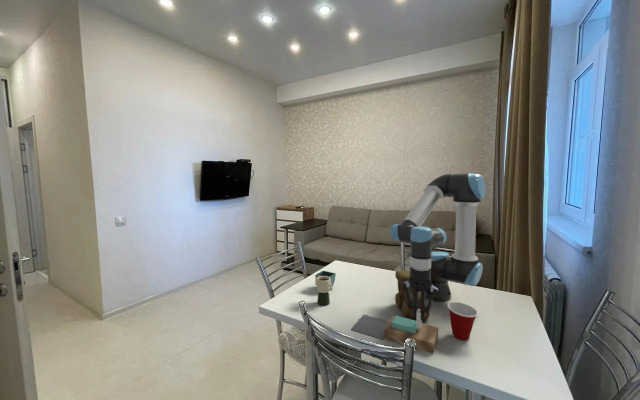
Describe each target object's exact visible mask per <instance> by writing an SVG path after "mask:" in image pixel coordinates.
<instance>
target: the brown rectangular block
mask: <svg viewBox="0 0 640 400" xmlns="http://www.w3.org/2000/svg"><path fill="white" fill-rule="evenodd" d="M395 316H396V315H392V317H391V318H390V320H388V321H389V323H388V324H387V326H386V328H385V329H384V340H387V341H389V342H394V343H396V342H397V344H399V345H403V346H405V345H404V343H405V340H406V339H407V338H412V339H414V340H415V343H416V345H415V348H414V349H416V350H419V351H422V352H426V353H428V354H432V355H434V354H435V349H436V347H437V343H438V339H439V326H434V325H431V324H428V323H423V322H422V326H421V328H420V329H418V328H417V331H416V333H415V334H414V333H411V332H407V331H404V330H400V329H397V328H393V327H392V321H393V320H394V318H395Z"/></svg>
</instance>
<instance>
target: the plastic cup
mask: <svg viewBox="0 0 640 400" xmlns="http://www.w3.org/2000/svg"><path fill="white" fill-rule="evenodd" d="M447 310H448V312H449V318H450V319H449V322H450V326H451V333H452V337H455V338H454V339H457V340H458V341H461V340H463V341H462V342H466V340H467V341H469V339H470V337H471V333H472V329H473V327H474V322H475V319H476V318H477V316H478V315H479V312H478V310H477V309H476V308H474V307H473V306H471V305H470V304H466V303H463V302H457V301H452V302H451V301H450V302H449V303H447Z"/></svg>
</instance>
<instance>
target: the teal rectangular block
mask: <svg viewBox="0 0 640 400" xmlns="http://www.w3.org/2000/svg"><path fill="white" fill-rule="evenodd" d="M394 316H395V318H394V320H393V321H392V327H393V328H397V329H400V330H404V331H407V332H411V333H414V334H415V333H416V331H417V328H416V319H410V318H408V319H407V318H403V316H399V315H394Z"/></svg>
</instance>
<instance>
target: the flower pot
mask: <svg viewBox="0 0 640 400" xmlns="http://www.w3.org/2000/svg"><path fill="white" fill-rule="evenodd" d="M336 275H337V274H336V272H331V271H327V270H321V271H320V272H318V273H316V274H315V280H316V279H317V277H319V276H328V277H330V279H331V284H332V288H333V287H334V285H335V281H336Z"/></svg>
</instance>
